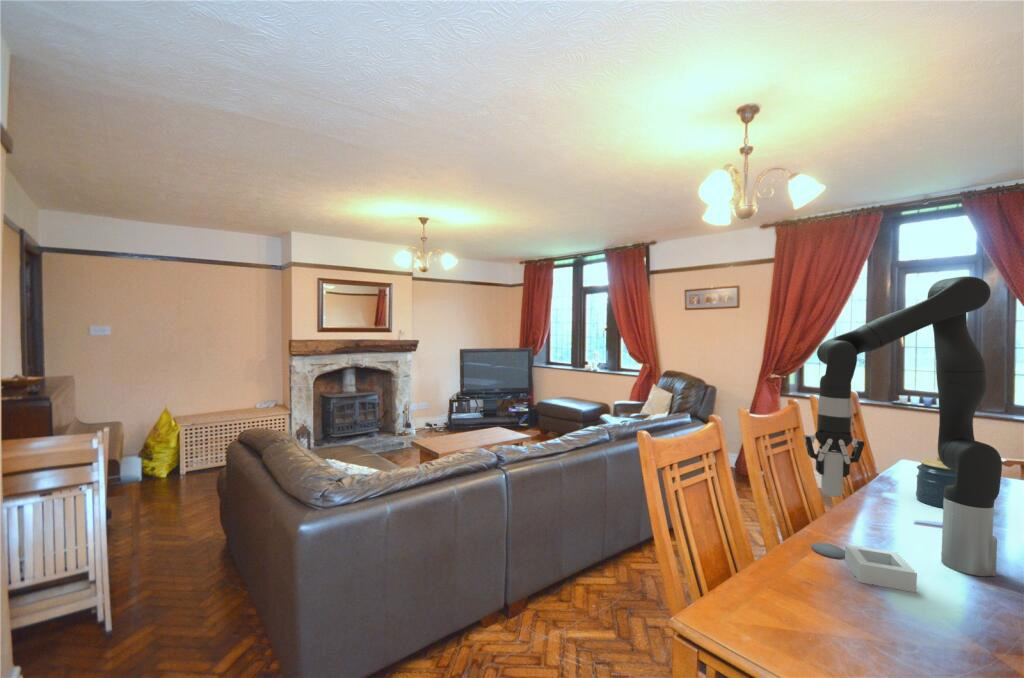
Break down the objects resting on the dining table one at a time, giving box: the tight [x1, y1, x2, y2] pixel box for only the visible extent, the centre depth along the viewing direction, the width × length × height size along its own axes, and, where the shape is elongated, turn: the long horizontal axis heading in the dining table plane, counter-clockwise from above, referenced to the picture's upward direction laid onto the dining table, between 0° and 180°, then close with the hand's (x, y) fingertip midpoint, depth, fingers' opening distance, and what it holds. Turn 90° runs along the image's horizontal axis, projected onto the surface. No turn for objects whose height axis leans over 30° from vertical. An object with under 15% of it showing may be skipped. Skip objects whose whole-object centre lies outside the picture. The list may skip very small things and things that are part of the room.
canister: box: [915, 454, 957, 509], centre depth 163 cm, size 13×13×18 cm
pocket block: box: [844, 543, 918, 593], centre depth 114 cm, size 11×11×4 cm
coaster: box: [811, 542, 845, 560], centre depth 126 cm, size 8×8×1 cm
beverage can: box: [820, 450, 844, 498], centre depth 125 cm, size 5×5×12 cm
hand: (832, 474), depth 125 cm, fingers closed on beverage can, 4 cm apart
